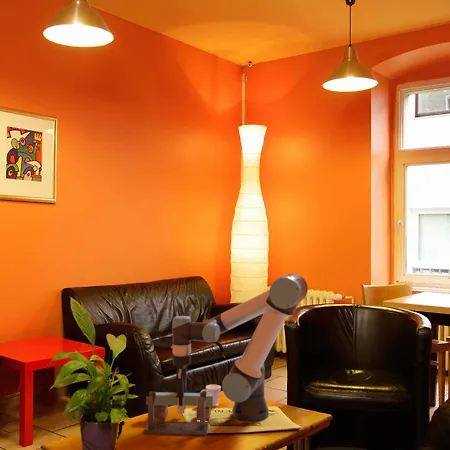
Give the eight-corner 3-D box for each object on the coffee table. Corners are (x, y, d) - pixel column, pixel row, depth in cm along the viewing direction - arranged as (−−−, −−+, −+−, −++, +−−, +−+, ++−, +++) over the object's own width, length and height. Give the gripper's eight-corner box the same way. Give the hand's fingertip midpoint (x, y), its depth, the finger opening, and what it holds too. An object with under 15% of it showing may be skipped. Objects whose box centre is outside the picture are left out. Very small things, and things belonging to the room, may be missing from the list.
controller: (117, 430, 225) (117, 404, 225) (125, 441, 214) (125, 414, 214) (106, 432, 223) (106, 406, 223) (114, 443, 212) (114, 415, 212)
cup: (223, 406, 254) (223, 388, 254) (201, 408, 250) (201, 390, 250) (218, 401, 260) (218, 383, 260) (197, 404, 257) (197, 385, 257)
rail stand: (208, 427, 227) (208, 392, 227) (206, 435, 219) (206, 398, 219) (148, 426, 229) (147, 391, 229) (143, 434, 221) (143, 397, 221)
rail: (213, 403, 239) (213, 393, 239) (212, 406, 235) (212, 396, 235) (151, 401, 241) (151, 392, 241) (149, 404, 237) (149, 395, 237)
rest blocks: (210, 415, 241) (210, 403, 241) (208, 422, 233) (208, 410, 233) (156, 414, 243) (156, 402, 243) (152, 421, 235) (152, 409, 235)
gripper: (175, 349, 247) (176, 404, 247) (169, 359, 230) (169, 417, 230) (193, 349, 246) (193, 404, 246) (187, 359, 229) (188, 418, 229)
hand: (181, 410), depth 238 cm, fingers closed on rail, 4 cm apart
